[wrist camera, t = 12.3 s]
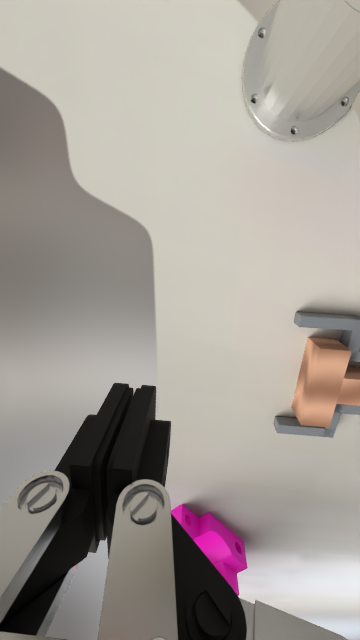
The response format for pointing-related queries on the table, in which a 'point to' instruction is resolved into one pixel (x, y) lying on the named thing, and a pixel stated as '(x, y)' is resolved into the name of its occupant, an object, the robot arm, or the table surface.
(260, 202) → the table surface
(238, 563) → the toy block
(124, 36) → the table surface
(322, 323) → the T outline
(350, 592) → the table surface
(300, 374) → the T block
